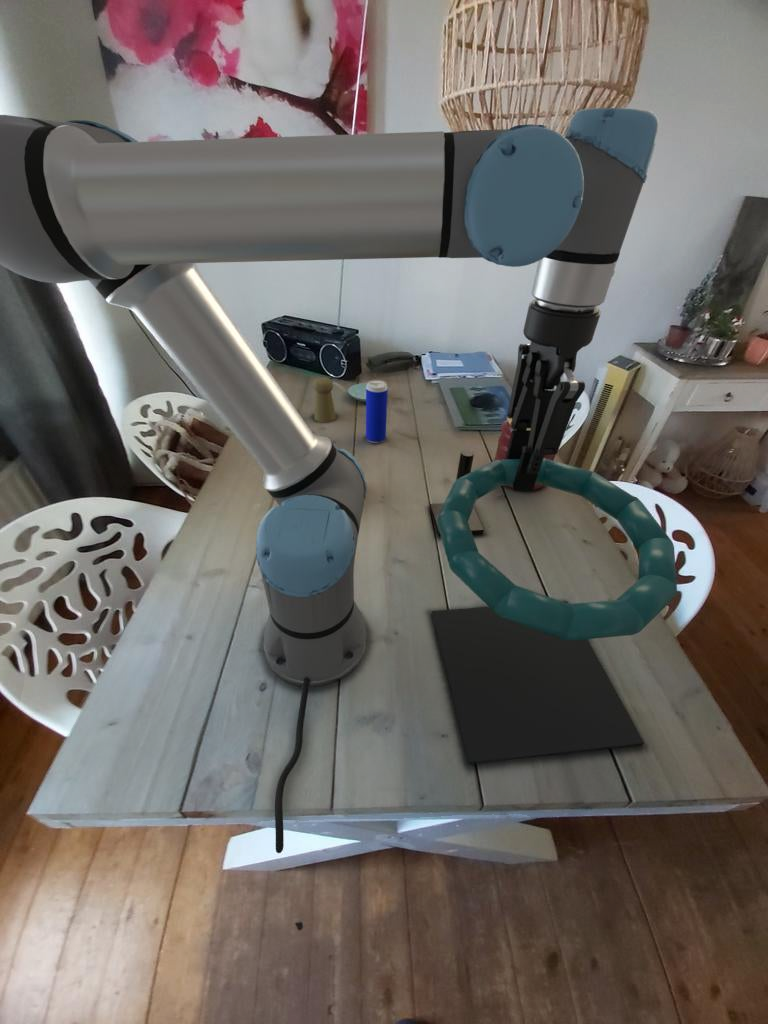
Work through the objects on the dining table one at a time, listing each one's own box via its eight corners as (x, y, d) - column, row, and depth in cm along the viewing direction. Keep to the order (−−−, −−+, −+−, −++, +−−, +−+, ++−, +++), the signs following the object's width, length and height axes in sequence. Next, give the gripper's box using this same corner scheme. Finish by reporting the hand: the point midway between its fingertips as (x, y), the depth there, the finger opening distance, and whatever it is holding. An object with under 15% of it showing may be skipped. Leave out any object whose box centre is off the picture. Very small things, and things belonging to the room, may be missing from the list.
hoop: (717, 632, 47) (738, 614, 44) (470, 656, 43) (477, 638, 41) (599, 469, 66) (609, 450, 63) (420, 477, 62) (423, 457, 60)
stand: (483, 534, 87) (499, 465, 77) (438, 536, 86) (448, 467, 76) (470, 506, 94) (484, 439, 83) (429, 508, 93) (437, 440, 82)
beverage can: (387, 435, 116) (390, 381, 106) (382, 445, 112) (384, 389, 103) (369, 432, 117) (369, 378, 107) (363, 442, 113) (363, 386, 103)
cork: (312, 413, 124) (309, 375, 118) (333, 411, 126) (331, 373, 119) (316, 423, 120) (313, 384, 113) (337, 420, 122) (336, 382, 115)
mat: (642, 745, 56) (644, 743, 56) (468, 764, 54) (468, 762, 53) (565, 603, 74) (566, 601, 74) (431, 613, 71) (431, 610, 71)
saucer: (372, 386, 140) (372, 379, 139) (394, 400, 133) (395, 393, 131) (340, 395, 134) (340, 388, 133) (362, 409, 127) (362, 402, 126)
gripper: (642, 325, 42) (568, 515, 56) (564, 284, 54) (521, 448, 69) (567, 326, 41) (512, 519, 56) (506, 284, 53) (475, 450, 68)
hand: (517, 479), depth 62 cm, fingers closed on hoop, 3 cm apart
